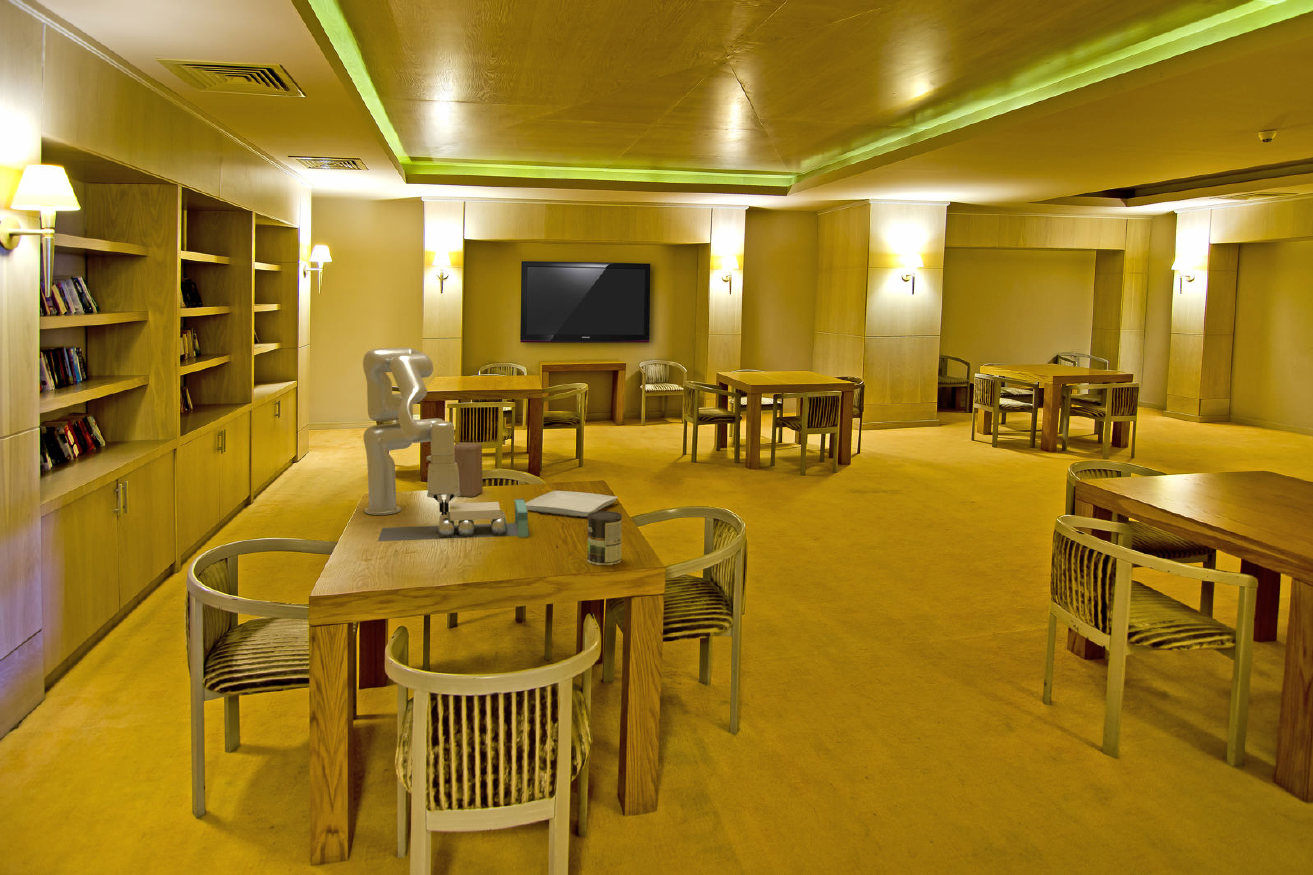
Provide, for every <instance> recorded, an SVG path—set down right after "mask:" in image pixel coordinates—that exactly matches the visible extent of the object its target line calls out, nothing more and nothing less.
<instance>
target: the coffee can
mask: <svg viewBox="0 0 1313 875" xmlns="http://www.w3.org/2000/svg"><path fill="white" fill-rule="evenodd" d="M622 518H623V514H621V513H619V512H616V511H610V510H609V511H606V510H598V511H597V512H592V513H589V514H588V515H587V559H586V560H587V563H589V564H591V563H592V564H591V565H594V564H595V566H602V565H607V566H614V565H613V564H615V565H617V564H616V563H618V564H620V563H621V562H622Z"/></svg>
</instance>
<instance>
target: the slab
mask: <svg viewBox="0 0 1313 875" xmlns="http://www.w3.org/2000/svg"><path fill="white" fill-rule="evenodd" d="M500 510H501V508H500V503H499V501H492V502H491V501H490V502H489V501H488V502H487V501H485V502H484V501H482V502H459V503H458V502H457V503H456V502H455V503H450V502H449V512H450V521H454V520H455V521H459V520H474V521H475V520H477V521H480V520H482V521H483V520H491V519H500Z"/></svg>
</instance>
